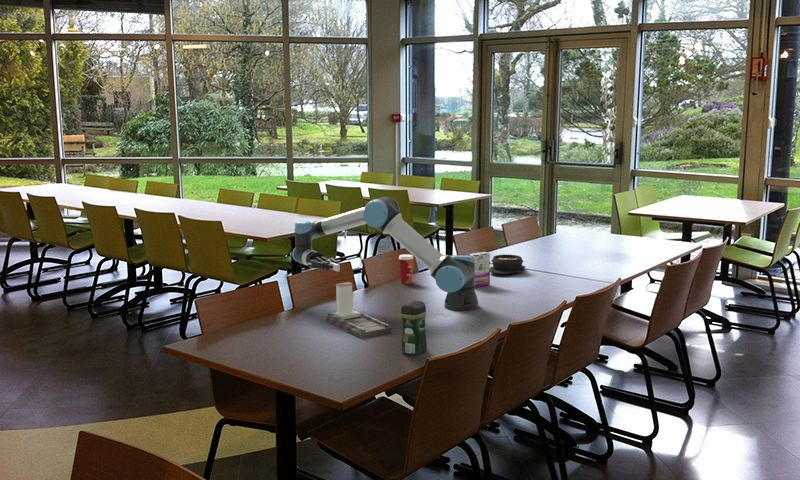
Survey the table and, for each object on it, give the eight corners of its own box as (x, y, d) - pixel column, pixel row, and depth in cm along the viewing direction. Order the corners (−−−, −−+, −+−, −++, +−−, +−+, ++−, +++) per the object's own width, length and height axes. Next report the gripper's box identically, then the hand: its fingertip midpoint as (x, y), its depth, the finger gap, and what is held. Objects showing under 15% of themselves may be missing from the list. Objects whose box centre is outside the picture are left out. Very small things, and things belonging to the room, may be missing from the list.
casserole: (511, 278, 403) (512, 262, 401) (480, 274, 413) (480, 259, 412) (533, 270, 423) (533, 254, 421) (502, 266, 433) (503, 251, 432)
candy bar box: (484, 283, 392) (484, 251, 390) (490, 285, 388) (490, 253, 385) (465, 286, 387) (465, 253, 385) (470, 288, 383) (471, 255, 380)
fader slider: (333, 315, 327) (332, 284, 325) (352, 312, 332) (351, 281, 330) (341, 319, 321) (340, 287, 319) (360, 316, 326) (360, 284, 324)
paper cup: (412, 284, 392) (412, 257, 389) (397, 284, 393) (397, 256, 391) (415, 281, 399) (414, 254, 397) (400, 280, 401) (400, 253, 399)
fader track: (325, 320, 328) (325, 313, 328) (354, 315, 336) (354, 308, 335) (360, 338, 303) (360, 330, 303) (391, 332, 311) (391, 324, 310)
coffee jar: (411, 346, 293) (410, 298, 289) (429, 349, 288) (429, 300, 285) (397, 353, 284) (397, 303, 281) (416, 356, 280) (416, 306, 277)
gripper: (326, 265, 353) (351, 274, 333) (300, 269, 346) (324, 278, 326) (326, 249, 351) (351, 257, 332) (299, 252, 345) (323, 261, 325)
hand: (338, 268), depth 329 cm, fingers closed
